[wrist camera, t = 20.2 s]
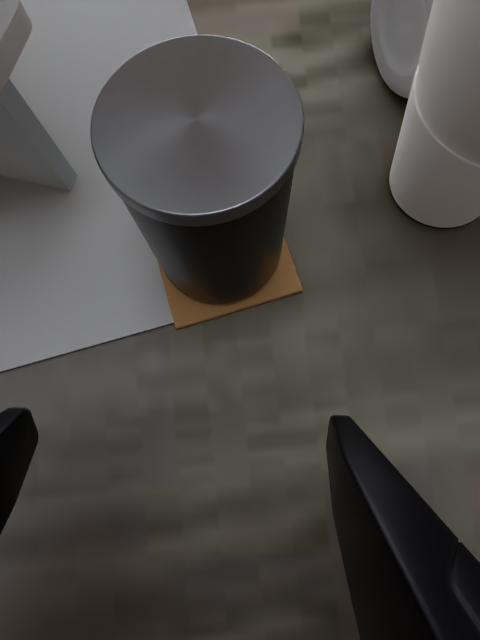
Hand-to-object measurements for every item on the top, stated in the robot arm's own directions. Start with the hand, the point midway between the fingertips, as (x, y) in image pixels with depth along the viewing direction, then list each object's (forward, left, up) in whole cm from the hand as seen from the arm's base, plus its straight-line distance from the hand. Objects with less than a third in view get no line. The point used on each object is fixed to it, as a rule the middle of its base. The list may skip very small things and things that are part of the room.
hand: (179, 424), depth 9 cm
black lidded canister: (+8, -3, -7) cm, 11 cm away
